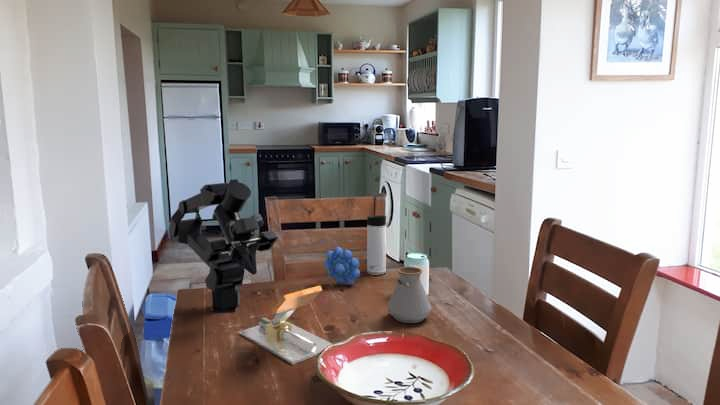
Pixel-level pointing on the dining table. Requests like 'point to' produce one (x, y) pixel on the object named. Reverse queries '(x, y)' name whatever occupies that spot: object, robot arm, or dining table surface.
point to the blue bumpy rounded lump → (342, 266)
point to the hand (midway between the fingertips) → (254, 273)
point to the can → (422, 263)
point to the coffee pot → (409, 297)
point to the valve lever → (293, 303)
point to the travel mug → (376, 244)
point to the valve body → (286, 340)
